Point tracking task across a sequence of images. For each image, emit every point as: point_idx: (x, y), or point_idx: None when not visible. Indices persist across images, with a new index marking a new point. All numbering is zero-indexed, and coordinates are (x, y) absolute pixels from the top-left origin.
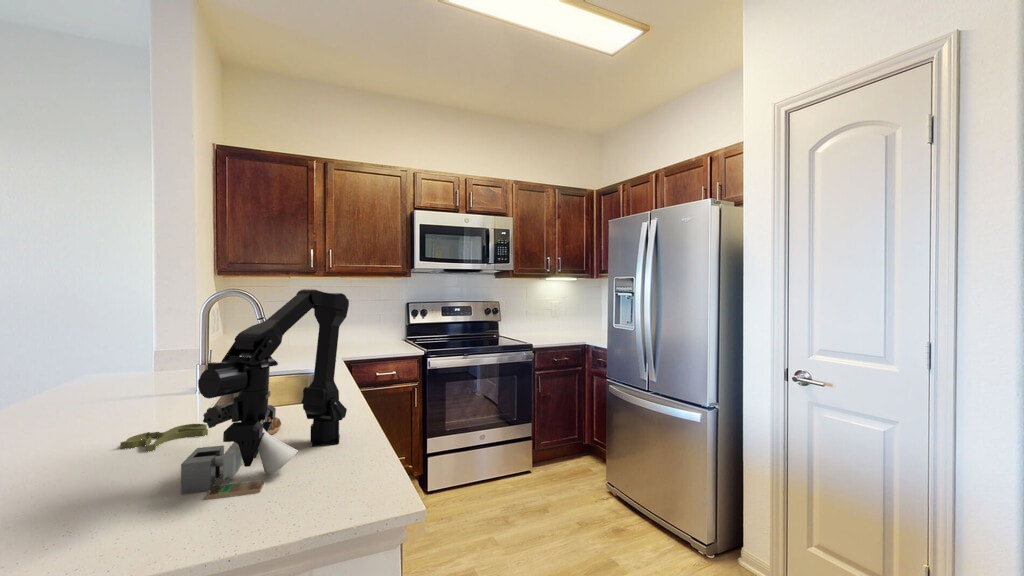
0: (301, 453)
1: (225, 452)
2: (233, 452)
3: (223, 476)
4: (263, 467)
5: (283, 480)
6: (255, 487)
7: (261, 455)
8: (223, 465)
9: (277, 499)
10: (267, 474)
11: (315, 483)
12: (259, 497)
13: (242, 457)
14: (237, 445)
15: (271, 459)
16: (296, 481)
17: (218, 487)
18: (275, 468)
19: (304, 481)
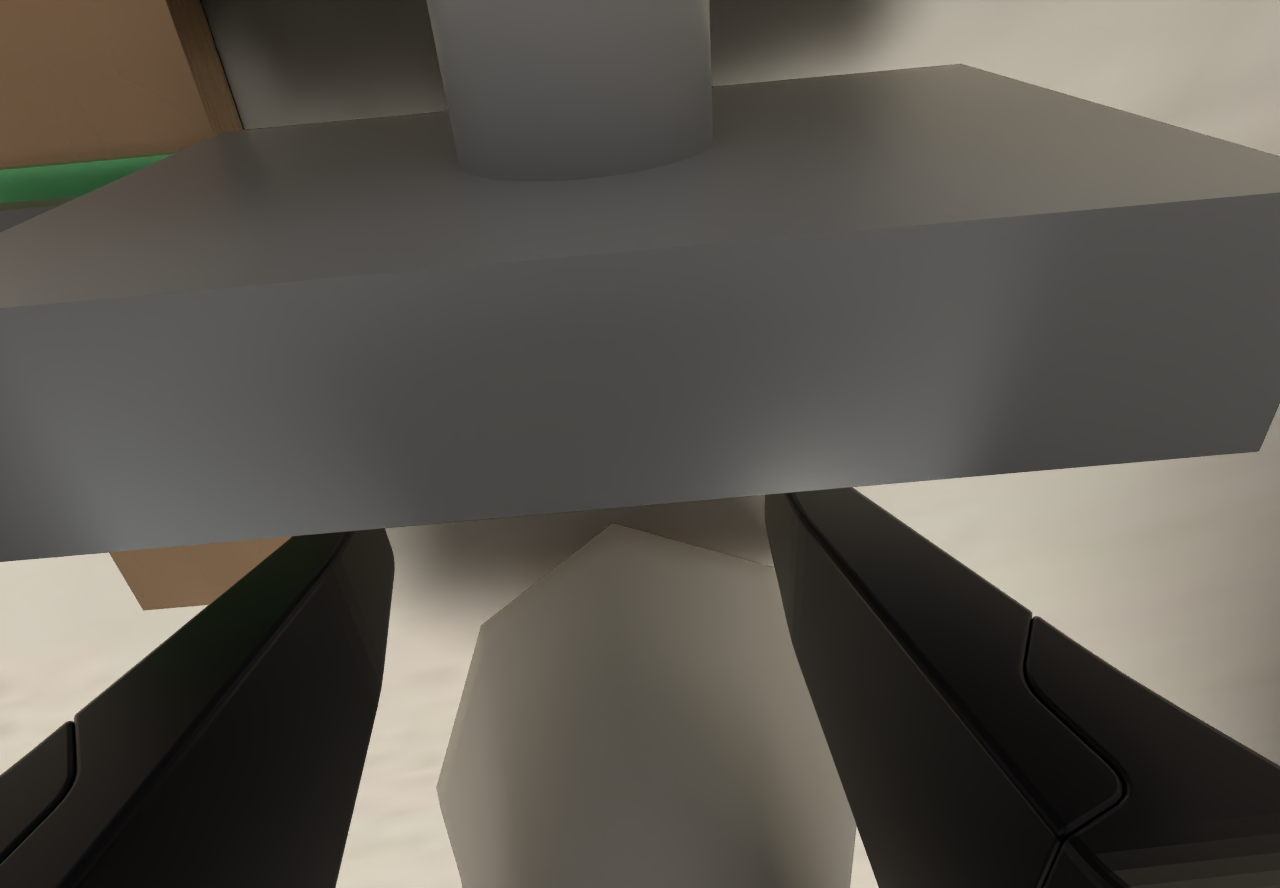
0: (1175, 680)
1: (26, 314)
2: (85, 549)
3: (195, 146)
4: (608, 575)
5: (458, 686)
6: (162, 564)
7: (562, 725)
8: (61, 205)
9: (38, 730)
10: (550, 575)
11: (365, 873)
12: (52, 600)
13: (191, 628)
14: (767, 456)
15: (468, 804)
16: (420, 771)
17: (117, 84)
18: (456, 737)
19: (413, 814)
